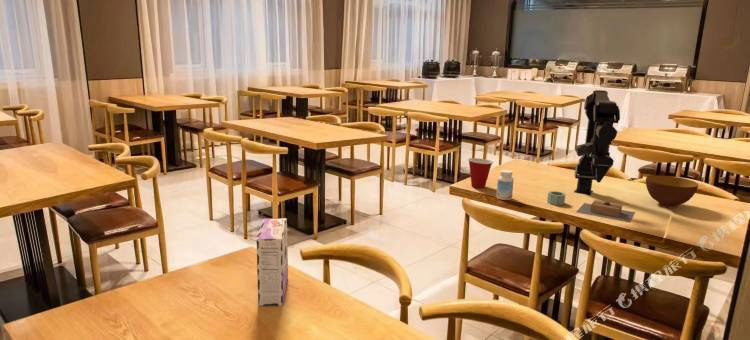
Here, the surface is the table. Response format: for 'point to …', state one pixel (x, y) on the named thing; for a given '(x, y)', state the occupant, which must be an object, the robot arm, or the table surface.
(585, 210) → the mat
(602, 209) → the lid
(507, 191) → the pill bottle
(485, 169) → the plastic cup
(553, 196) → the ramekin
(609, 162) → the robot arm
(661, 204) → the bowl
